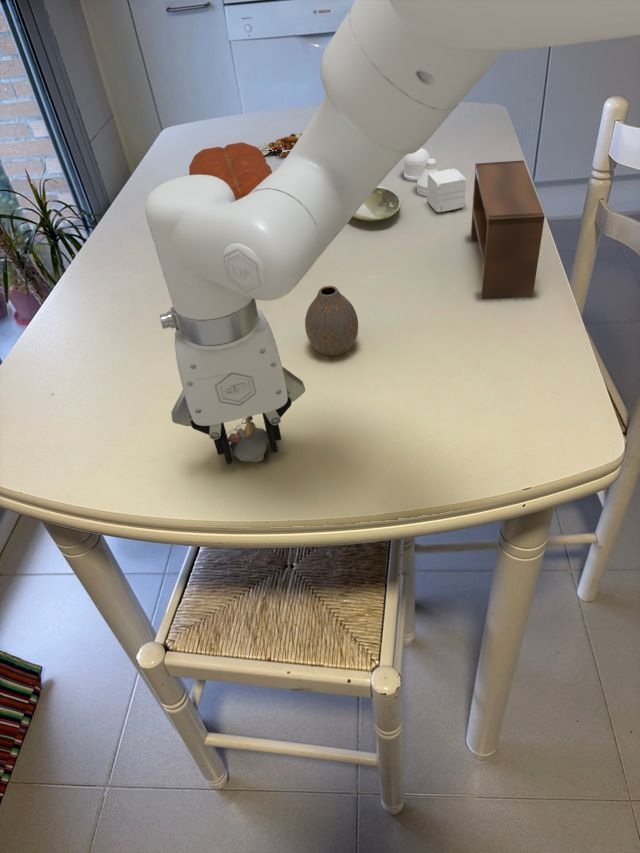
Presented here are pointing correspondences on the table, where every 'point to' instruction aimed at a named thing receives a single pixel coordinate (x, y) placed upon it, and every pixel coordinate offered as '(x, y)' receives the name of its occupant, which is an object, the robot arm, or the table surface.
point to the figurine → (249, 442)
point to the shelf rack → (506, 228)
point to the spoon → (379, 205)
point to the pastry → (282, 144)
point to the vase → (331, 322)
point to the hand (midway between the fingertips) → (250, 448)
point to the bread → (233, 166)
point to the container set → (435, 181)
